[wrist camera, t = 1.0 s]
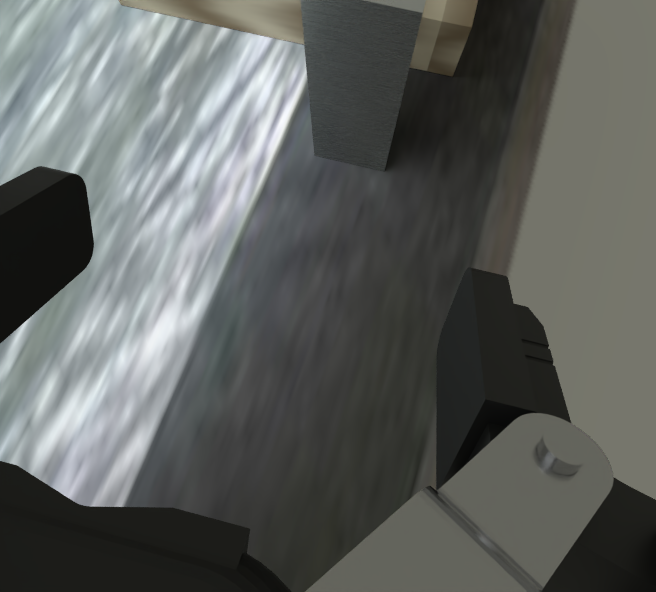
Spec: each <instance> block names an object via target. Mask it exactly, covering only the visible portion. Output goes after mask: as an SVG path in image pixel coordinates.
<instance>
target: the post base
mask: <svg viewBox="0 0 656 592" xmlns="http://www.w3.org/2000/svg"><path fill="white" fill-rule="evenodd" d="M119 2H120V4H121V5H124V6H129V7H133V8H138V9H143V10H147V11H152V12H156V13H161V14H166V15H170V16H175V17H179V18H184V19H189V20H193V21H198V22H203V23H207V24H212V25H216V26H221V27H226V28H230V29H235V30H239V31H244V32H249V33H253V34H258V35H262V36H267V37H272V38H276V39H281V40H285V41H290V42H295V43H299V44H304V34H303V23H302V12H301V1H300V0H119ZM477 2H478V0H426V2H425V6H424V11H423V15H422V19H421V23H420V27H419V31H418V35H417V39H416V44H415V48H414V52H413V56H412V60H411V64H410V68H414V69H419V70H424V71H428V72H433V73H437V74H442V75H447V76H451V77H453V74H454V72H455V69H456V67H457V64H458V62H459V59H460V56H461V54H462V51H463V49H464V46H465V44H466V41H467V39H468V36H469V33H470V31H471V28H472V25H473V20H474V16H475V11H476V7H477Z"/></svg>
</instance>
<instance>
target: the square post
mask: <svg viewBox="0 0 656 592" xmlns="http://www.w3.org/2000/svg"><path fill="white" fill-rule="evenodd" d="M300 1H301V12H302V23H303V34H304V45H305V56H306V67H307V78H308V89H309V100H310V111H311V122H312V133H313V144H314V155H315V156H319V157H323V158H328V159H332V160H336V161H341V162H345V163H350V164H354V165H358V166H363V167H367V168H371V169H376V170H380V171H385V167H386V163H387V159H388V154H389V150H390V146H391V142H392V138H393V134H394V130H395V126H396V122H397V118H398V114H399V110H400V105H401V101H402V97H403V93H404V89H405V85H406V81H407V77H408V72H409V68H410V64H411V60H412V56H413V52H414V48H415V44H416V39H417V35H418V31H419V27H420V23H421V19H422V15H423V11H424V6H425V2H426V0H300Z"/></svg>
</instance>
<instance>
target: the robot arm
mask: <svg viewBox="0 0 656 592" xmlns="http://www.w3.org/2000/svg"><path fill="white" fill-rule="evenodd" d="M93 248H94V241H93V233H92V226H91V219H90V212H89V204H88V197H87V190H86V185H85V183H84V181H83V179H82V178H81V177H80V176H79V175H77V174H73V173H68V172H64V171H60V170H56V169H51V168H47V167H42V166H40V167H36V168H34V169H32V170H30V171H28V172H26V173H24V174H22V175H20V176H18V177H16V178H14V179H12V180H11V181H9V182H7V183H5V184H3V185H1V186H0V343H1V342H2V341H4V340H5V339H6V338H7V337H8V336H9V335H10V334H12V333H13V332H14V331H15V330H16V329H17V328H18V327H19V326H21V325H22V324H23V323H24V322H25V321H26V320H27V319H29V318H30V317H31V316H32V315H33V314H34V313H35V312H37V311H38V310H39V309H40V308H41V307H42V306H43V305H44V304H46V303H47V302H48V301H49V300H50V299H51V298H52V297H54V296H55V295H56V294H57V293H58V292H59V291H60V290H61V289H63V288H64V287H65V286H66V285H67V284H68V283H69V282H71V281H72V280H73V279H74V278H75V277H76V276H77V275H79V274H80V273H81V272H82V271H83V270H84V269H85V268H86V267H87V265H88V264H89V262H90V260H91V257H92V254H93ZM548 346H549V344H548V341H547V337H546V334H545V330H544V327H543V325H542V324H541V323H540V322H539V320H538V319H537V318H536V317H535V316H534V314H533V313H532V312H531V310H530V309H529V308H528V307H525V306H521V305H517V304H513V299H512V294H511V290H510V285H509V281H508V278H507V277H506V276H503V275H499V274H495V273H491V272H486V271H482V270H478V269H473V268H468V269H467V270H466V271H465V273H464V275H463V277H462V280H461V282H460V285H459V287H458V290H457V292H456V295H455V298H454V300H453V303H452V305H451V308H450V310H449V313H448V315H447V318H446V321H445V323H444V326H443V328H442V332H441V335H440V339H439V343H438V349H437V454H436V490H434V489H433V488H432V487H431V486H428V487H426V488H424V489H422V490H421V491H419V492H418V493H417V494H415V495H414V496H413V497H412V498H411V499H410V500H408V501H407V502H406V503H405V504H404V505H403V506H402V507H400V508H399V509H398V510H397V511H396V512H395V513H394V514H393V515H391V516H390V517H389V518H388V519H387V520H386V521H385V522H384V523H382V524H381V525H380V526H379V527H378V528H377V529H376V530H374V531H373V532H372V533H371V534H370V535H369V536H368V537H367V538H365V539H364V540H363V541H362V542H361V543H360V544H359V545H357V546H356V547H355V548H354V549H353V550H352V551H351V552H350V553H348V554H347V555H346V556H345V557H344V558H343V559H342V560H341V561H339V562H338V563H337V564H336V565H335V566H334V567H333V568H331V569H330V570H329V571H328V572H327V573H326V574H325V575H324V576H322V577H321V578H320V579H319V580H318V581H317V582H316V583H314V584H313V585H312V586H311V587H310V588H309V589H308V590H307V591H305V592H656V500H655V499H653V498H651V497H649V496H647V495H645V494H643V493H641V492H639V491H637V490H635V489H633V488H631V487H629V486H628V485H626V484H624V483H622V482H620V481H619V480H617V479H616V478H614V477H613V471H612V468H611V465H610V463H609V460H608V458H607V457H606V455H605V454H604V452H603V451H602V449H601V448H600V447H599V446H598V444H596V442H595V441H594V440H593V439H591V438H590V436H589V435H587V434H586V433H585V432H583V431H582V430H581V429H579V428H578V427H576V426H575V425H573V424H571V421H570V417H569V414H568V410H567V407H566V404H565V400H564V396H563V393H562V389H561V386H560V383H559V379H558V376H557V372H556V369H555V366H553V358H552V355H551V351H550V349H548ZM249 533H250V529H249V528H245V527H242V526H238V525H234V524H231V523H227V522H223V521H220V520H216V519H212V518H208V517H205V516H201V515H197V514H194V513H190V512H186V511H183V510H179V509H175V508H148V507H89V506H83V505H79V504H77V503H75V502H73V501H72V500H70V499H69V498H67V497H66V496H64V495H62V494H61V493H59V492H58V491H56V490H55V489H53V488H52V487H50V486H48V485H47V484H45V483H44V482H42V481H41V480H39V479H37V478H36V477H34V476H33V475H31V474H30V473H28V472H26V471H25V470H23V469H22V468H20V467H19V466H17V465H13V464H9V463H6V462H2V461H0V592H291V591H290V590H289V589H288V588H287V587H286V585H285V584H284V583H283V582H282V581H281V580H280V579H279V578H278V577H277V576H276V575H275V574H274V573H273V572H272V571H270V570H269V569H268V568H267V567H266V566H264V565H263V564H262V563H261V562H259V561H258V560H256V559H254V558H253V557H251V556H250V555H248V554H247V548H248V541H249Z"/></svg>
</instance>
